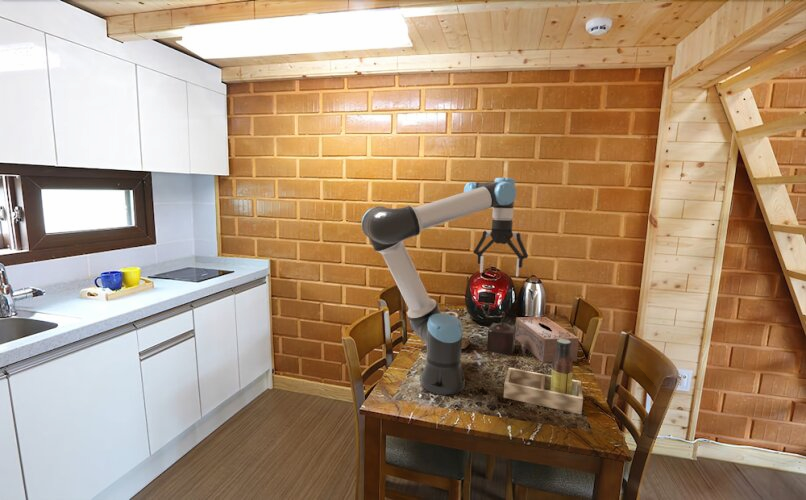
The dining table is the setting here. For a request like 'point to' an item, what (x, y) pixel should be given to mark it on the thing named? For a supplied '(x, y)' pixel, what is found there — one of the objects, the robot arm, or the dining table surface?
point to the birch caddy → (541, 391)
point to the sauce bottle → (562, 368)
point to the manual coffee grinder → (500, 335)
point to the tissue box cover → (543, 337)
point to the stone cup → (464, 340)
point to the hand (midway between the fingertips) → (498, 274)
